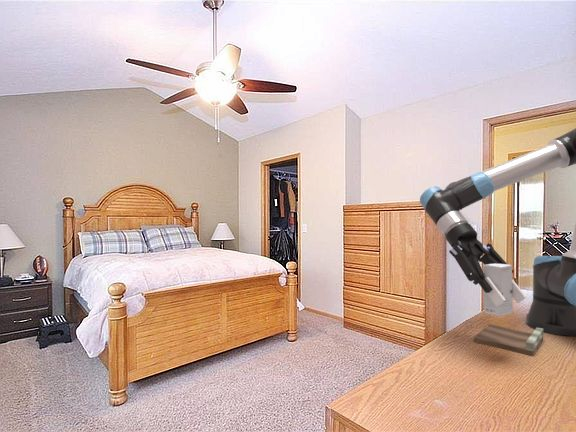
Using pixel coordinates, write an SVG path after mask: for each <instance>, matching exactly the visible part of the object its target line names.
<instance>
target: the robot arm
mask: <svg viewBox="0 0 576 432" xmlns="http://www.w3.org/2000/svg"><path fill="white" fill-rule="evenodd" d="M573 165H576V128H574V129H572V130H570V131H568V132H566V133H564V134H563V135H561V136H558V137H556V138H554V139H551V140H549V141H548V143H547V145H544V146H542V147H539V148H537V149H534V150H532V151H530V152H526V153H524V154H522V155H520V156H517V157H514V158H511V159H509V160H507V161H504V162H502V163H499V164H496V165H495V166H491V167H489V168H487V169H484V170H482V171H479V172H477V173H476V172H475V173H474V174H471V175H469V176H466V177H465V178H464V177H463V178H462V179H459V180H457V181H453V182H450V183H449V184H448V185H447V186H445V188H444V189H442V188H441V187H439V186H433V187H428V188H427V189H426V190H424V191H423V192H422V194H421V195H420V197H419V203H420V204H421V206H422V208H423V209H424V211H425V213H426V214H427V215H428V216H429V218H430V219H431V220H432V222H433V223H434V225H435V226H436V228H438V230H439V231H440V232H441V234H442V235H443V237H445V240H446V241H447V242H448V244H449V245H450V247H451V249H450V250H449V254H450V255H451V256H452V257H453V258H454V259H455V261H456V263H457V264H458V266H459V267H460V269H461V271H462V272H463V274H464V275H465V277H466V278H467V280H468V281H469V282H472V283H473V284H474V285H479V286H480V288H481V289H482V290H483V292H484V291H485V292H486V293H487V294H488V296H489V297H490V298H491V300H492V301H493V303H494V304H495V305H496V306H499V305H500V304H502V303H503V302H504V301H505V300H506V299H505V298H504V297H503V295H502V294H501V293H500V291H499V290H498V289H497V288H496V286H495V285H494V284H493V282H492V281H491V280H490V278H489V277H486V278H485V275H484V270H483V269H482V266H481V264H480V263H483V264H484V265H487V264H495V263H497V264H508V263H507V261H505V260H504V259H503V257H502V256H501V255H500V254H499V253H498V252H497V251H496V250H495V248H494V247H493V245H492V244H491V243H489V242H488V243H487V244H483V243H482V242H481V241H480V240H479V239H478V232H477V231H476V229H475V228H474V227H473V226H472V225H471V223H469V220H468V219H467V218H466V217H465V216H464V215H463V213H462V212H460V211H461V210H463V209H465V208H467V207H470V206H471V205H473V204H475V203H477V202H480V201H481V200H483V199H486V198H488V197H489V196H491V195H492V194H494V192H496V191H498V190H501V189H504V188H506V187H508V186H511V185H514V184H518V183H520V182H522V181H525V180H527V179H530V178H533V177H535V176H538V175H541V174H544V173H545V172H548V171H551V170H554V169H556V168H560V169H566V168H567V167H568V168H569V167H570V166H573ZM573 230H574V231H573V234H572V240H571V244H570V249H569V250H568V251H566V252H564V253H563V254H562V255H537V256H535V257H534V261H533V265H532V268H533V269H532V272H533V273H532V274H533V275H532V276H533V277H532V278H533V279H532V282H533V283H532V303H531V305H530V308H529V310H528V313H527V314H526V316H525V324H526V325H527V326H528V327H530V328H533V329H534V330H535V329H536V328H542V329H543V333H549V334H554V335H560V336H572V337H573V336H574V337H575V336H576V223H575V226H574V229H573ZM514 271H515V270H514V269H512V274H513V273H514ZM525 299H527V295H526V294H525V293H524V292H523V290H522V288H520V286H519V284H518V283H517V282H516V281H515V280H514V278H512V300H514V301H515V303H517V304H520V303H521V302H523V301H524V300H525Z"/></svg>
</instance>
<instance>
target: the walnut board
mask: <svg viewBox="0 0 576 432" xmlns="http://www.w3.org/2000/svg"><path fill="white" fill-rule="evenodd" d="M543 341H544V331H543V329H542V328H536V329H534V331H533V332H528V331H522V330H519V329H513V328H508V327H503V326H499V325H494V324H488V325H486V326H485V327H484V328H482V330H480V331H479V332H478V333H477V334H476V335H475V336H473V342H475V343H478V344H483V345H487V346H491V347H493V348H498V349H503V350H506V351H511V352H515V353H519V354H523V355H527V356H531V357H534V355H535V354H536V352H537V350H538V349H539V347H540V346H541V344H542V342H543Z"/></svg>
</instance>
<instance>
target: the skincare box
mask: <svg viewBox="0 0 576 432" xmlns="http://www.w3.org/2000/svg"><path fill="white" fill-rule="evenodd" d="M512 270H513V266H512V264H509V263H507V264H497V263H495V264H487V265H485V264H484V265H483V273H484V275H485V278H486V277H489V278H490V280H491V281H492V282H493V284H494V285H495V286H496V288H497V289H498V290H499V291H500V293H501V294H502V295H503V297H504V298H505V299H506V300H505V301H504V302H503V303H502V304H500V305H499V306H496V305H495V304H494V303H493V301H492V300H491V298H490V297H489V296H488V294H487V293H486V292H485V291H484V290H483V313H486V314H488V315H492V316H497V317H503V316H507V315H510V314H513V312H514V311H513V309H514V307H513V297H512V279H513V273H512Z"/></svg>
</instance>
